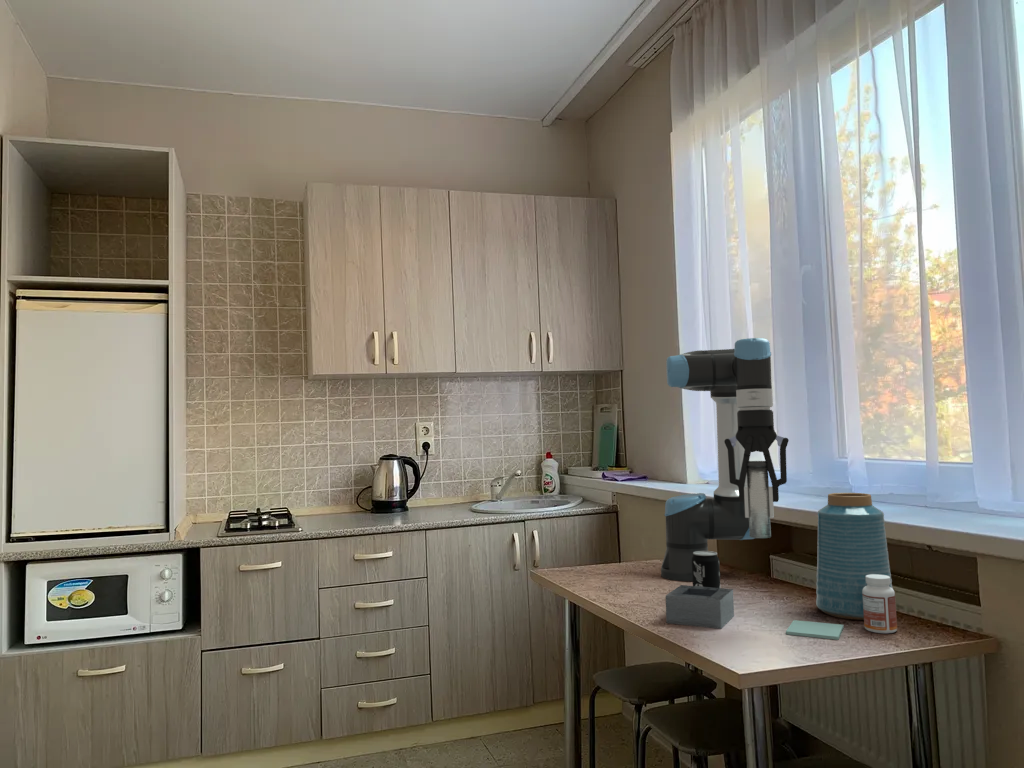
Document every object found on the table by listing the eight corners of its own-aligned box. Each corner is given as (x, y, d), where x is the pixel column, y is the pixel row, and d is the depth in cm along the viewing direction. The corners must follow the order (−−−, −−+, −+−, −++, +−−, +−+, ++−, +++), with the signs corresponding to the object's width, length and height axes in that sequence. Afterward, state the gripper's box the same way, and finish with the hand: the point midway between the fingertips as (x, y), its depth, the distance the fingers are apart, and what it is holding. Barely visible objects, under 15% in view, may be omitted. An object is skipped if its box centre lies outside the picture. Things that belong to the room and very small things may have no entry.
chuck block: (682, 610, 178) (681, 585, 178) (734, 615, 172) (733, 589, 173) (666, 623, 168) (665, 595, 168) (721, 628, 162) (720, 600, 162)
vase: (899, 608, 175) (893, 492, 177) (889, 625, 162) (882, 498, 163) (825, 601, 184) (819, 490, 186) (809, 615, 171) (803, 496, 172)
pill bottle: (887, 625, 161) (884, 572, 162) (903, 633, 155) (900, 578, 156) (858, 626, 161) (855, 573, 161) (874, 634, 155) (871, 579, 155)
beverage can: (721, 605, 182) (719, 555, 183) (693, 605, 184) (691, 554, 184) (720, 599, 189) (718, 550, 190) (692, 598, 190) (691, 550, 191)
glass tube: (747, 537, 162) (744, 461, 164) (748, 534, 167) (745, 460, 168) (772, 538, 161) (768, 461, 162) (772, 535, 165) (769, 460, 166)
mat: (793, 622, 165) (793, 620, 165) (843, 627, 160) (843, 624, 160) (785, 634, 156) (785, 631, 156) (838, 639, 152) (838, 636, 152)
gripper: (712, 410, 165) (716, 518, 164) (797, 407, 159) (802, 519, 158) (715, 410, 172) (719, 514, 171) (797, 408, 166) (802, 515, 165)
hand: (759, 516), depth 164 cm, fingers closed on glass tube, 4 cm apart
